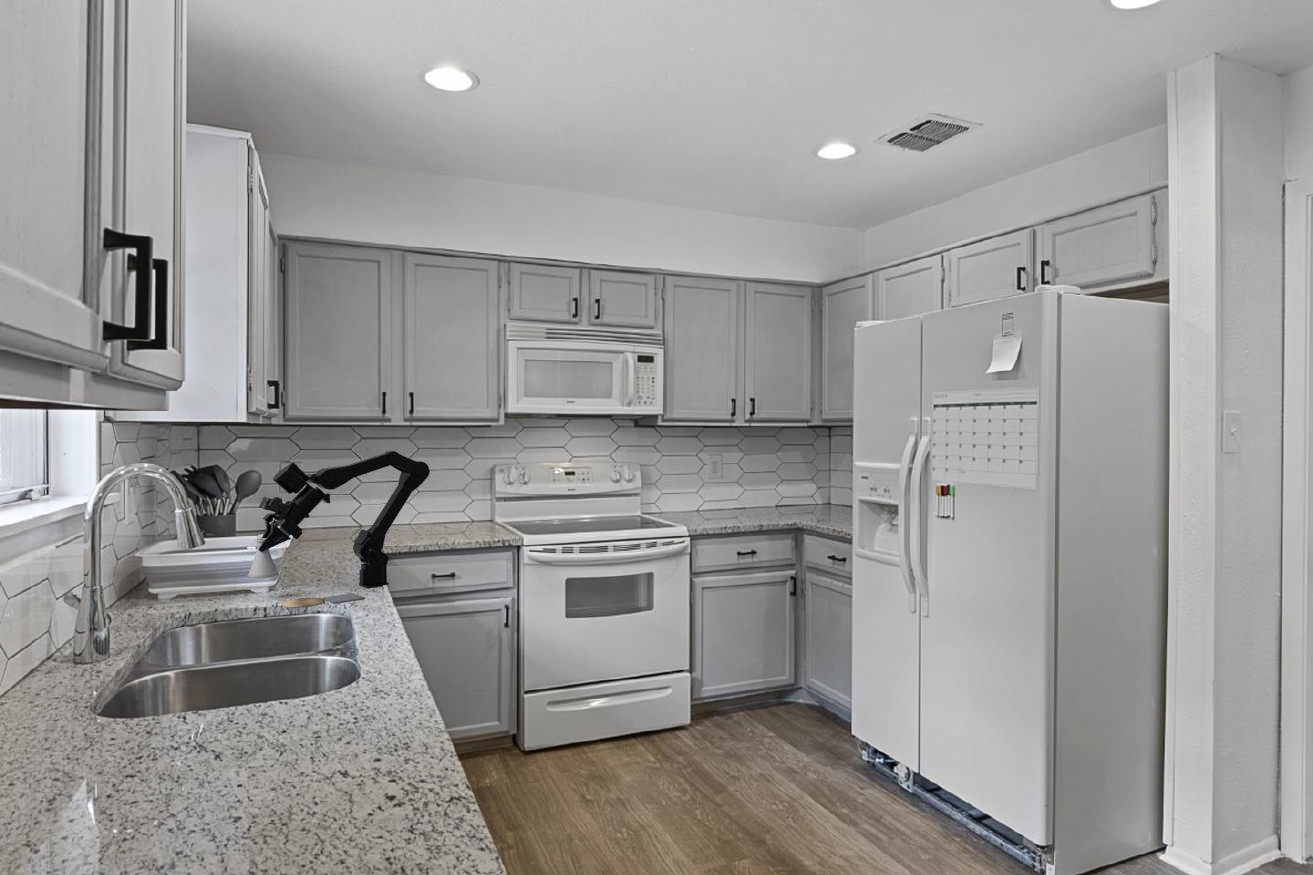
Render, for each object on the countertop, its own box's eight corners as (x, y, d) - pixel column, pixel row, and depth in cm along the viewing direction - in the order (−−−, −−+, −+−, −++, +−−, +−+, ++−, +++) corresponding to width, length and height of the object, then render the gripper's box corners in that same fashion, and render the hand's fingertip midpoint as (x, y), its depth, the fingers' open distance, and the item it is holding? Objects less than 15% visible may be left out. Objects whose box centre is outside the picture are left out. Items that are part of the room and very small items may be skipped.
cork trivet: (315, 597, 209) (315, 595, 209) (329, 603, 202) (329, 601, 202) (275, 602, 203) (275, 601, 203) (288, 609, 195) (288, 607, 195)
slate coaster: (352, 594, 212) (352, 593, 212) (364, 599, 207) (364, 597, 207) (322, 598, 207) (322, 597, 207) (333, 603, 201) (333, 602, 201)
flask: (284, 575, 208) (283, 538, 208) (258, 580, 202) (257, 541, 202) (268, 573, 212) (267, 536, 212) (242, 577, 206) (241, 539, 206)
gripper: (270, 483, 217) (226, 527, 210) (288, 487, 202) (241, 534, 195) (301, 510, 222) (259, 553, 215) (320, 515, 207) (276, 562, 200)
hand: (258, 550), depth 206 cm, fingers closed on flask, 3 cm apart
